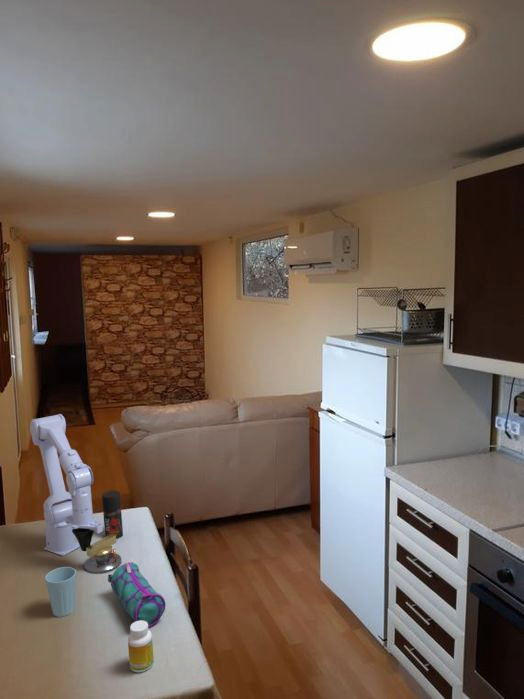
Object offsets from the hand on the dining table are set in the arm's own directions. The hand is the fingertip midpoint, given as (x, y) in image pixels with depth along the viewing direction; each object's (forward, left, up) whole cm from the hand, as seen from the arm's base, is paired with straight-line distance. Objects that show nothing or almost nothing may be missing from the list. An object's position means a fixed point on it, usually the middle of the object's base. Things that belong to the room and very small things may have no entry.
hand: (85, 549), depth 167 cm
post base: (+3, +4, -6) cm, 7 cm away
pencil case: (+29, -8, -6) cm, 31 cm away
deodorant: (-8, +19, -6) cm, 21 cm away
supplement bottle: (+45, -23, -6) cm, 51 cm away
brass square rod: (+3, +4, -2) cm, 5 cm away
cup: (+12, -18, -6) cm, 23 cm away
